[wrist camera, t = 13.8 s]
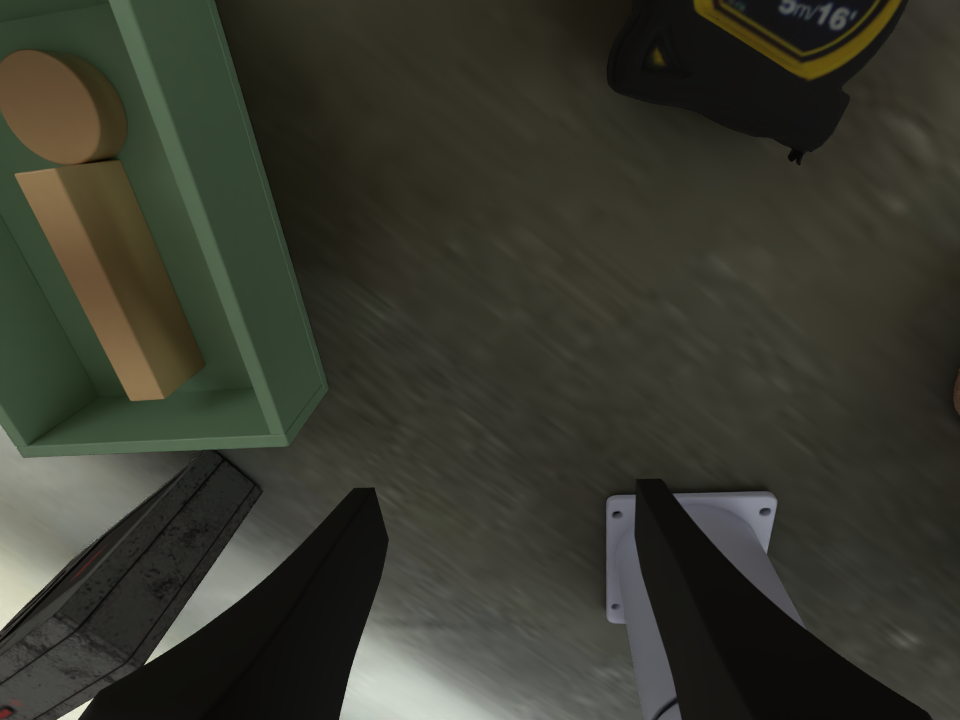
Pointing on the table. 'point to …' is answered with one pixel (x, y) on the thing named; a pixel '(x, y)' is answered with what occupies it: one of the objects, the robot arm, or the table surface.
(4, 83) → the spoon
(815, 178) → the table surface
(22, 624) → the camera
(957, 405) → the mushroom
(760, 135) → the tape measure
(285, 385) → the green storage tray
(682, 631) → the robot arm
